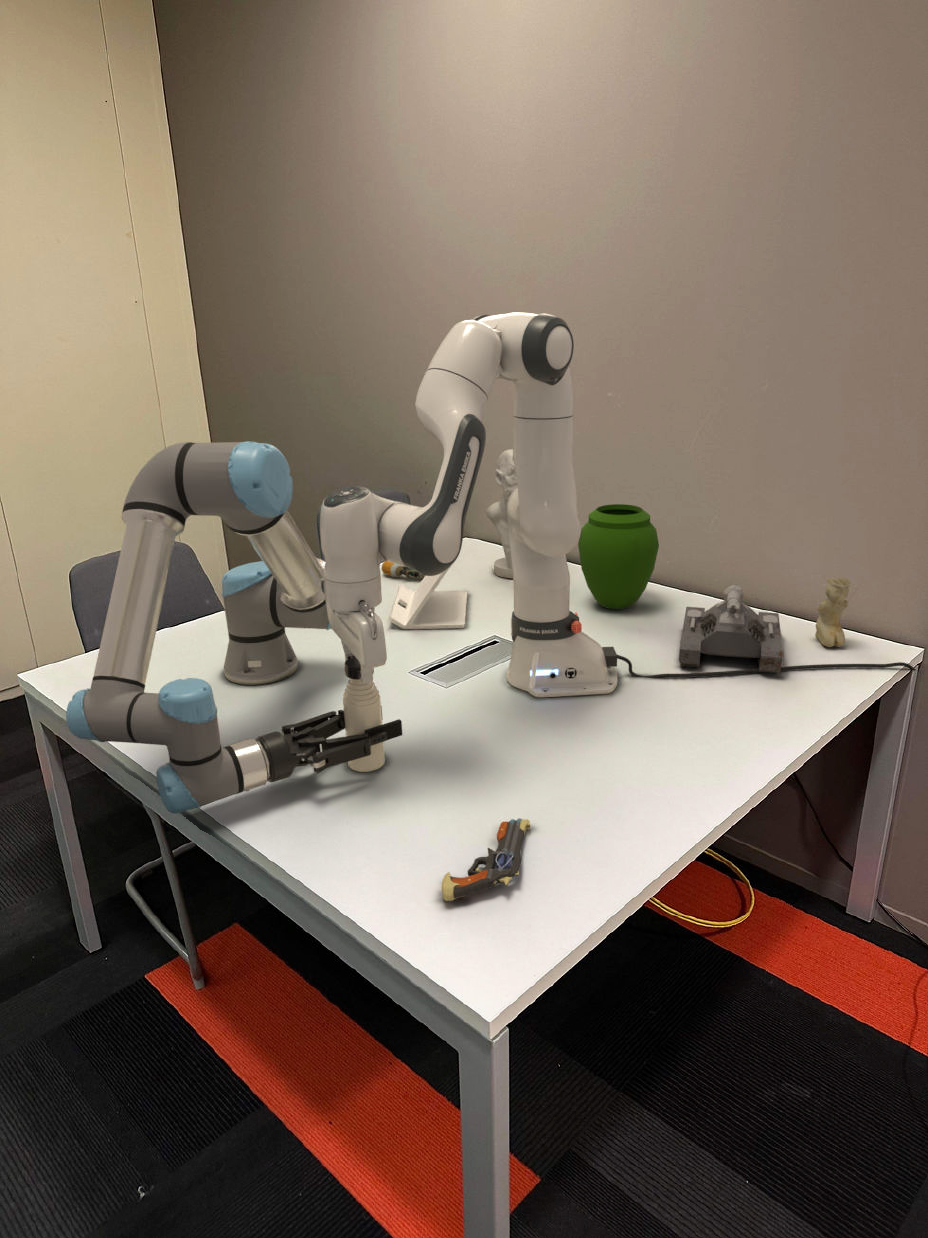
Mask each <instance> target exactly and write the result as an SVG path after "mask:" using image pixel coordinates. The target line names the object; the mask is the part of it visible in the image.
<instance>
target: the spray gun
mask: <svg viewBox="0 0 928 1238" xmlns="http://www.w3.org/2000/svg"><path fill="white" fill-rule="evenodd" d="M381 572H382V573H383V574H384V575H387V576H390V577H393V578H399V577H401V576H406V578H416V579H422V578H424V575H423V574H421V573H418V572H416V571H414V570H412V569H410V568H408V567H405V566H402V565H399V564H395V563H392V562H389V561H385V562H382V563H381Z"/></svg>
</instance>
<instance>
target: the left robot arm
mask: <svg viewBox="0 0 928 1238" xmlns="http://www.w3.org/2000/svg"><path fill="white" fill-rule="evenodd" d="M293 483H294V482H293V477H292V476H291V468H290V464H289V462H288V461H287V459H286V457H285V455H284V454H283V453H282V451H280V449H279V448H277V447H276V446H274V445H272V444H271V443H266V442H256V441H251V440H250V441H249V440H248V441H238V442H237V441H233V442H232V441H228V442H226V441H224V442H223V441H222V442H219V441H218V442H191V441H184V442H183V441H182V442H177V443H174V444H171V445H168V446H166V447H164V448H163V449H161V450H160V451H158V452H156V453H155V454H154V455H153V456H152V457H151V458H150V459H149V460H148V461H147V462H146V463H145V464H144V465H143V467H141V469H140V470H139V472H138V473H137V474H136V476H135V478H134V480H133V481H132V484H131V485H130V487H129V490H128V491H127V494H126V497H125V499H124V503H123V507H122V512H121V515H120V516H121V517H120V518H121V520H122V521H123V523H124V524H125V529H124V530H125V531H124V534H123V539H122V544H121V548H120V552H119V558H118V563H117V567H116V572H115V576H114V581H113V585H112V590H111V594H110V599H109V604H108V608H107V611H106V612H107V613H106V616H105V621H104V626H103V630H102V635H101V639H100V645H99V649H98V654H97V659H96V662H95V667H94V672H93V676H92V681H91V684H90V688H86V689H85V688H83V689H79V690H78V691H76V692H75V693H74V694H73V695H72V696H71V700H70V701H68V703H67V706H66V712H65V714H66V715H65V719H66V724H67V727H68V730H69V731H70V733H71V734H72V735H73V736H74V737H77V739H82V740H89V741H97V742H99V743H107V742H113V743H127V744H129V743H130V744H143V745H155V746H166V748H167V752H168V758H169V759H168V760H169V762H167V763H165V764H163V765H160V766H159V767H158V768H157V769H156V772H155V775H156V784H157V789H158V793H159V796H160V798H161V801H162V804H163V806H164V807H165V809H166V811H168V812H169V813H171V814H179V813H183V812H187V811H191V810H194V809H201V808H202V807H204V806H206V805H209V804H212V803H215V802H217V801H220V800H223V799H226V798H229V797H232V796H234V795H238V794H241V793H243V792H249V791H250V790H253V789H256V788H259V787H262V786H266V784H267V783H275V782H278V781H281V780H284V779H288V778H289V777H291V776H292V775H293V772H294V771H295V769H296V768H299V767H306V766H308V765H309V766H311V767H313V773H320V772H322V771H325V770H327V769H328V768H331V767H334V766H338V765H341V764H345V763H348V762H349V761H352V760H355V759H359V758H362V757H366V756H369V755H371V746H372V745H375V744H378V743H381V742H383V743H385V742H387V741H390V740H392V739H396V738H398V737H401V736H403V722H402V720H401V719H400V718H399V719H396V720H392V721H389V722H386V723H382V725H379V726H376V727H373V728H370V729H367V730H365V734H358V735H352V736H346V735H345V736H339V737H333V738H330V737H332V736H334V735H336V734H338V733H339V732H342V731H343V730H345V720H344V709H339V710H337V711H335V710H332V711H328V712H325V713H323V714H320V715H317V716H314V717H311V718H308V719H305V720H302V721H300V722H296V723H293V724H292V723H291V724H287V725H282V726H281V731H277V730H276V731H272V732H269V733H265V734H262V735H259V736H257V737H256V739H254V738H248V739H245V740H242V741H239V742H236V743H233V744H229V745H226V746H222V744H221V743H222V742H221V735H220V727H219V720H218V719H219V718H218V707H217V706H216V702H215V701H216V700H215V697H214V692H213V689H212V686H211V684H210V683H209V682H208V681H206V680H204V679H202V678H196V677H187V678H184V679H181V678H178V679H175V680H172V681H170V682H167V683H166V684H164V685H163V686H162V687H161V688H160V690H159V692H145V690H146V683H147V678H148V674H149V673H148V672H149V669H150V664H151V659H152V658H151V657H152V653H153V649H154V643H155V639H156V635H157V629H158V624H159V619H160V615H161V611H162V605H163V600H164V595H165V591H166V586H167V580H168V575H169V571H170V566H171V562H172V557H173V553H174V548H175V547H174V546H175V542H176V537H178V536H179V535H181V534H183V533H184V531H185V527H186V521H187V519H189V517H190V516H208V517H209V516H210V517H219V518H220V519H221V520H222V523H224V525H225V526H226V527H227V528H228V529H229V530H230V531H232V532H233V533H236V534H237V535H241V536H244V537H245V538H246V539H247V541H248V542H249V544H250V545H251V546H252V548H253V549H254V551H255V552H256V554H257V555H258V557H259V558H260V561H254V562H248V563H245V564H241V565H238V566H235V567H233V568H231V569H230V570H228V571H227V572H225V573H224V574H223V576H222V579H221V588H222V589H221V591H222V593H221V597H222V600H223V607H224V613H225V621H226V627H227V634H228V643H227V648H226V654H225V657H224V663H223V672H224V677H225V679H226V680H228V681H230V682H232V683H234V684H239V685H245V686H247V685H249V686H255V685H256V686H257V685H258V686H259V685H265V684H272V683H275V682H278V681H281V680H284V679H287V678H289V677H290V676H292V675H293V674H294V673H295V672H297V670H298V667H299V665H298V657H297V655H296V653H295V650H294V648H293V646H292V644H291V642H290V640H289V637H288V636H287V633H286V628H289V629H291V628H293V629H312V630H313V629H315V630H316V629H317V630H326V631H329V630H332V628H331V626H330V623H329V619H328V614H327V608H326V601H325V595H324V593H323V592H322V590H321V583H320V581H321V579H323V578H324V569H325V560H323V559H321V558H318V557H316V556H315V554H314V552H313V550H312V549H311V547H310V546H309V544H308V542H307V541H306V539H305V537H304V535H303V534H302V532H301V530H300V528H299V527H298V526H297V524H296V522H295V520H294V518H293V517H292V515H291V513H290V511H289V510H288V509H289V508H290V506H291V503H292V500H293V491H294V484H293ZM381 714H382V715H383V706H382V705H381ZM382 721H383V718H382Z"/></svg>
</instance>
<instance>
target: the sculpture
mask: <svg viewBox="0 0 928 1238" xmlns="http://www.w3.org/2000/svg"><path fill="white" fill-rule="evenodd" d="M826 581H827V586H826V588H825V590H824V593H825V595H826V596H827V598H826V600H824V601H822V602H821V603H820V604H819V605H818V606H817V609H816V610H817V612H818V614H819V616H818V617H817V619H816V623H815V630H816V631H815V634H814V635H815V639H817V640H819V642H820V643H821V644H822V645H823V646H825V647H827V648H832V647H834V646H835V647H843V646H844V645H845V643H846V642H845V641H846V636H845V632H844V630H843V626H842V624H841V622H840V621H841V617H842V615H843V612H844V610H845V609H846V608H847V606H848V604H849V603H848V602H849V601H847V598H848V597H849V592H850V586H851V585H852V582H850V580H848V579H847V578H845V577H841V576H840V577H835V578H831V577H827V578H826Z"/></svg>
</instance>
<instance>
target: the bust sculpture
mask: <svg viewBox="0 0 928 1238" xmlns="http://www.w3.org/2000/svg"><path fill="white" fill-rule="evenodd" d="M494 480H495V482H496V484H497V486H498V487H501V488H502V494H501V497H500V499H499V501H496V502H494V503H492V504H491V505H490V506H488V508H487V509H486V513H485V514H486V517H487V518H488V519H489V520H490V522H491V523H492V524H493V526H494V527H495V529H496V532H497V534H498V537H499V540H500V542H501V546H502V548H503V553H504V557H502V558H498V559H496V560H495V561H494V562H493V573H494V574H495V575H496V576H497V577H500V578H506V579H513V567H512V560H511V551H510V541H509V530H508V516H507V502H508V499H509V497H510V495H511V493H512V492H513V491H514V490H515V489H516V488H518V487H517V479H516V471H515V465H514V460H513V448H512V449H506V450H504V451H502V452H501V454H500V455H499V457H498V459H497V461H496V468H495V471H494Z"/></svg>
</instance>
